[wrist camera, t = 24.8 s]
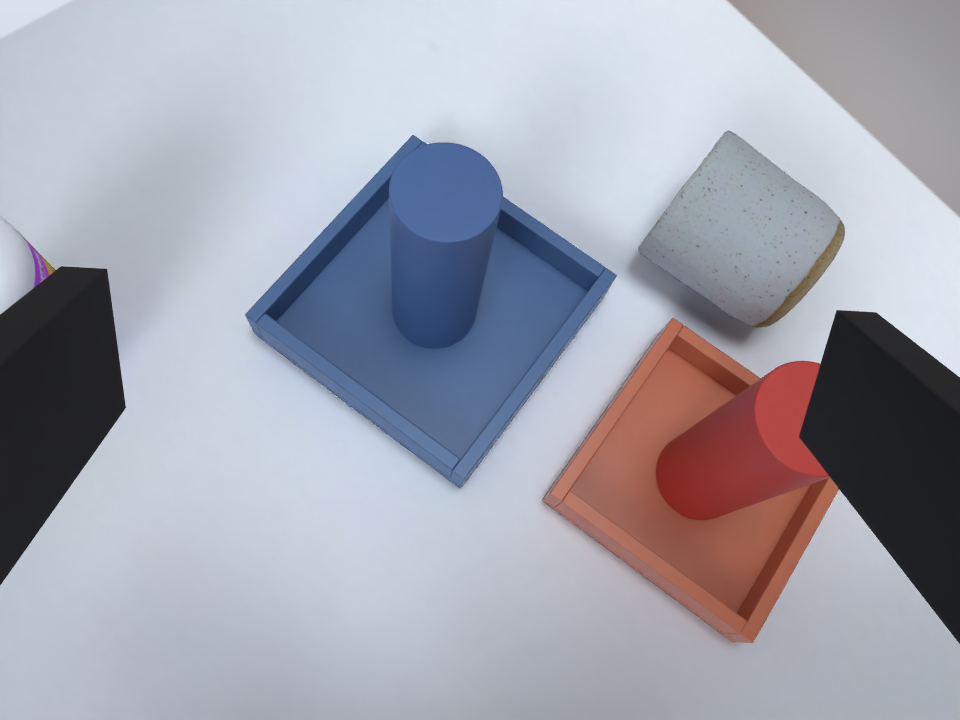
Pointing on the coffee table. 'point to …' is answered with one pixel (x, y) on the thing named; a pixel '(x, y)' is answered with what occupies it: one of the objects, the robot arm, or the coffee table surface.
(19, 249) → the supplement bottle
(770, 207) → the ceramic mug
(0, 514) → the robot arm
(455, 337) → the blue peg
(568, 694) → the coffee table surface
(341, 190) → the coffee table surface
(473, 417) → the blue tray
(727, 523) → the orange tray
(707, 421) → the red peg
